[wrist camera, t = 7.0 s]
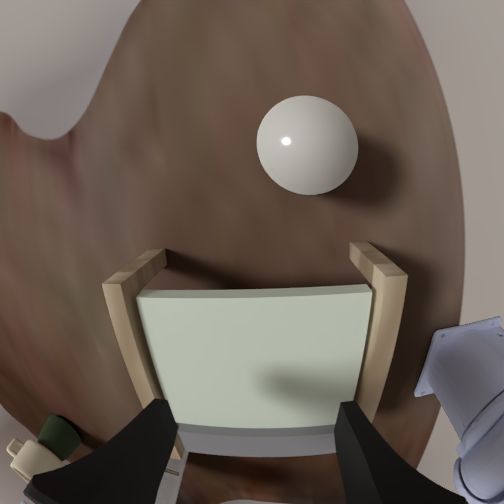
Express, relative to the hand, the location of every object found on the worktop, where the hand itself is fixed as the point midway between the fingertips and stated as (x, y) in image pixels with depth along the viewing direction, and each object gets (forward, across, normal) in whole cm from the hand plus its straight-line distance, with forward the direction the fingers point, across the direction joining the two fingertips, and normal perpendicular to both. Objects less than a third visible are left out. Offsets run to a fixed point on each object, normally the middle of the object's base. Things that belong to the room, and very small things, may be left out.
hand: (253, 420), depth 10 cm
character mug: (+10, +30, +22) cm, 39 cm away
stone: (+10, -3, -11) cm, 15 cm away
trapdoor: (+5, 0, +3) cm, 6 cm away
